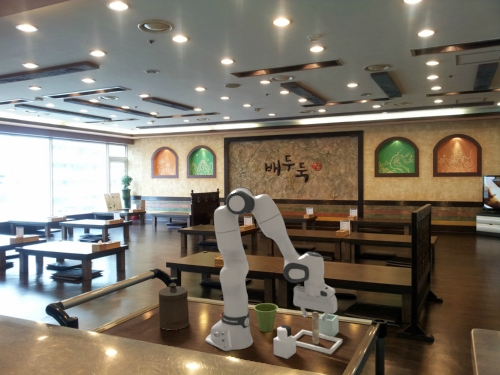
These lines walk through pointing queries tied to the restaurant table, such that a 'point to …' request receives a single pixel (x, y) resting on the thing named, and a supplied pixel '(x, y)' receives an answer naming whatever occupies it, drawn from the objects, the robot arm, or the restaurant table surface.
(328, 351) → the melamine tray
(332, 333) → the celadon cup
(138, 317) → the restaurant table surface
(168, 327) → the wooden container
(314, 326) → the beech dowel
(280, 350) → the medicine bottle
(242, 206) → the robot arm
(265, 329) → the plant pot
